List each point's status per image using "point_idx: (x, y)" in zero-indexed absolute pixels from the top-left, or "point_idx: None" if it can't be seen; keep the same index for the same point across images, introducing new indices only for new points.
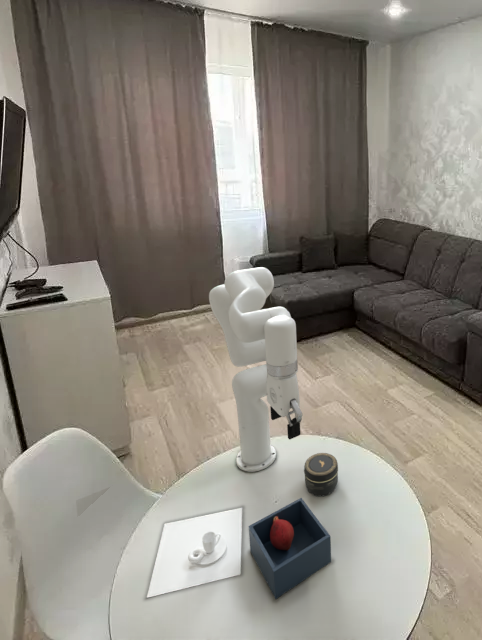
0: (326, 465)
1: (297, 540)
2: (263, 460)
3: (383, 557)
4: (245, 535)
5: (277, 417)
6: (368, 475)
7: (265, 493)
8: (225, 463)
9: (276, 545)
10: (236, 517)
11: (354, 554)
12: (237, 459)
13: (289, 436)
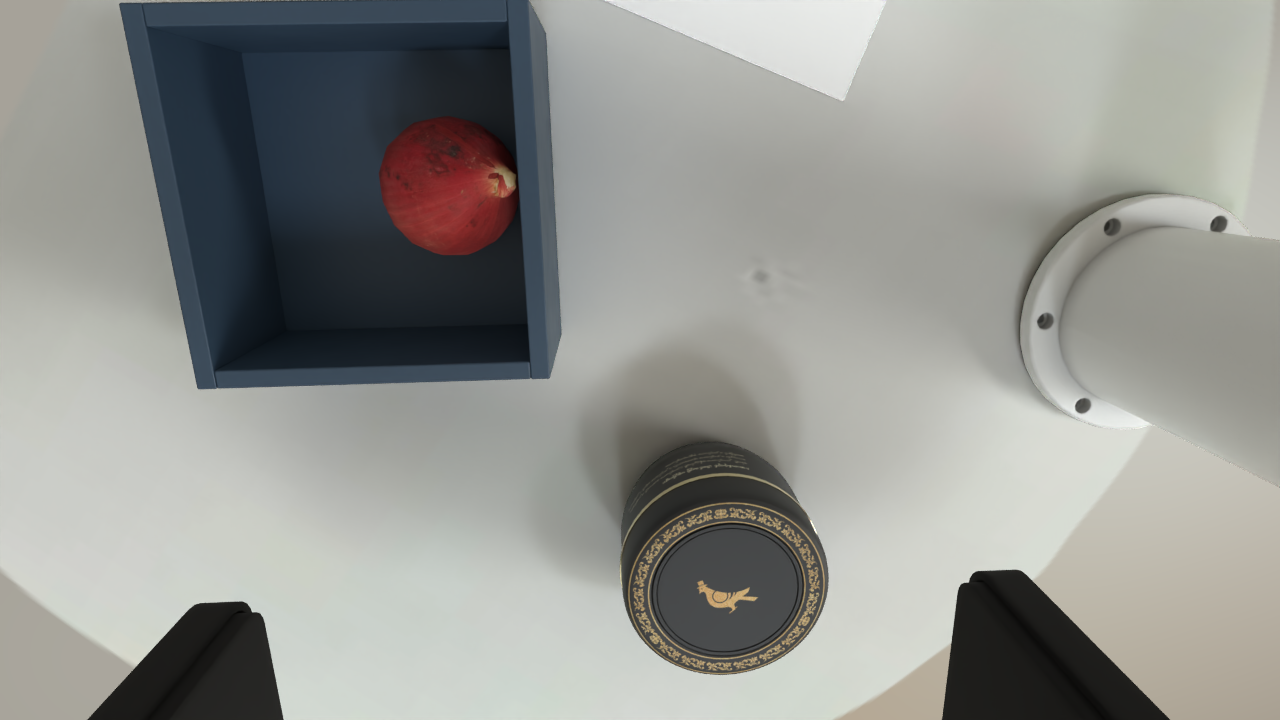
0: (692, 609)
1: (457, 261)
2: (1068, 333)
3: (186, 533)
4: (655, 47)
5: (960, 678)
6: (620, 712)
7: (850, 251)
8: (1236, 139)
9: (402, 131)
10: (798, 47)
11: (261, 444)
12: (1203, 207)
13: (163, 653)
